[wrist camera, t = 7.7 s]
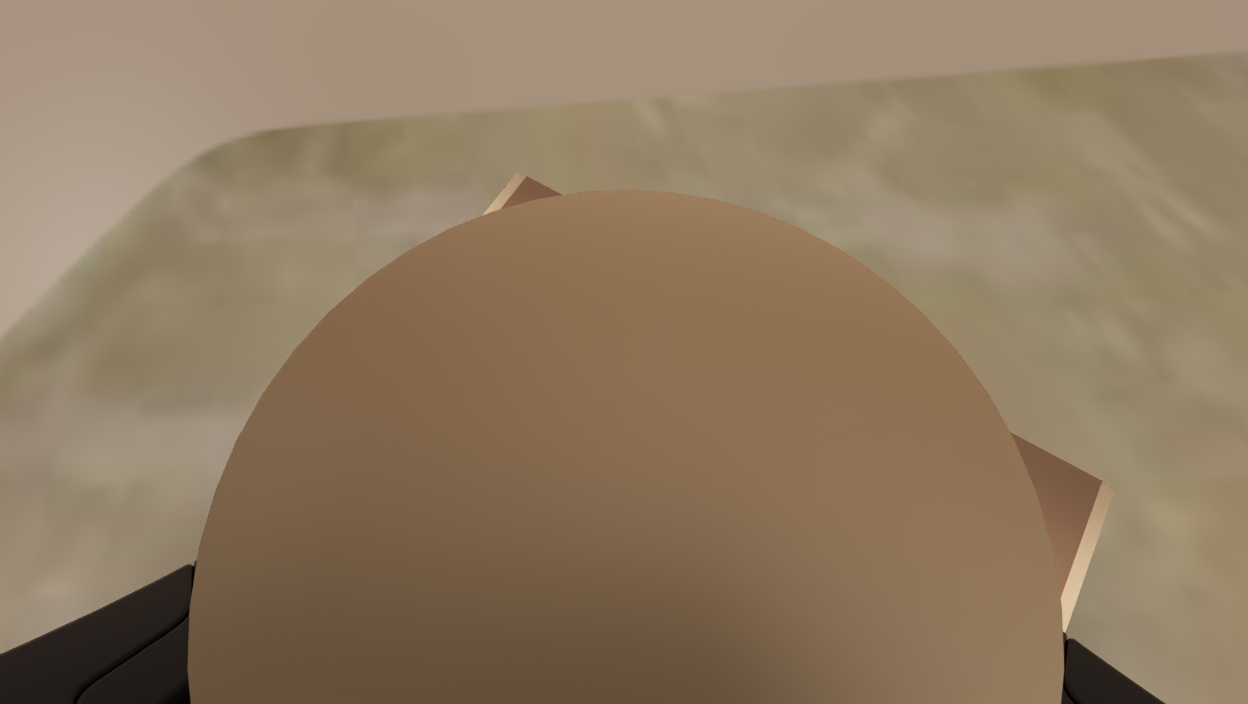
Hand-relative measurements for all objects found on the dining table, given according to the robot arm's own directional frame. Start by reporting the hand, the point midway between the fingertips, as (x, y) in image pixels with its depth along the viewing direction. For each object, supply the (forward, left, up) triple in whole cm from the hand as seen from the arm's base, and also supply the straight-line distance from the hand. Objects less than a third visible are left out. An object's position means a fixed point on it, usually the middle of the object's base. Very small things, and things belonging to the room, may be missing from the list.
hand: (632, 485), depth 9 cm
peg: (-1, -1, -7) cm, 7 cm away
